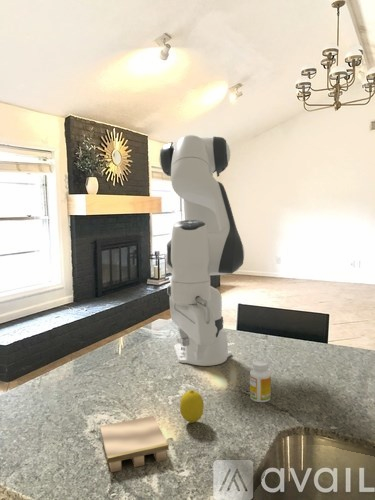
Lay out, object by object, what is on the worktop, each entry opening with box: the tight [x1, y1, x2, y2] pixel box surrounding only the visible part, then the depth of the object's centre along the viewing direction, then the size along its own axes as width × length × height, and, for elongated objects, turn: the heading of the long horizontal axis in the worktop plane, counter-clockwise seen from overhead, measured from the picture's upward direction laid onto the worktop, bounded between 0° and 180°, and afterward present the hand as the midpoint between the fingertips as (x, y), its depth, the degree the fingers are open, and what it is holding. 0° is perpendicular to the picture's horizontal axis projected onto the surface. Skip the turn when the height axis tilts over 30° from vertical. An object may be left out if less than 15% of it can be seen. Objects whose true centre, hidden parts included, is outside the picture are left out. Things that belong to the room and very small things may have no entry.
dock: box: [99, 415, 170, 473], centre depth 82 cm, size 12×12×3 cm
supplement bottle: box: [249, 359, 272, 403], centre depth 103 cm, size 5×5×10 cm
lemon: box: [179, 389, 205, 424], centre depth 92 cm, size 6×6×8 cm
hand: (191, 351), depth 90 cm, fingers open, 8 cm apart
